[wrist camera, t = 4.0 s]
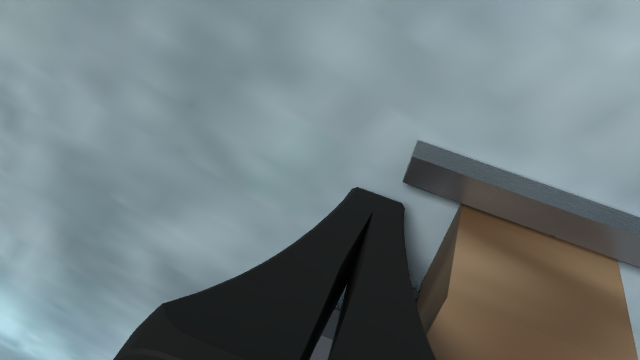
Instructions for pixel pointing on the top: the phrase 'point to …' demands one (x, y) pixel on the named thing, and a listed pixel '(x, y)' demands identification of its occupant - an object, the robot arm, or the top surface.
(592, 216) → the key guide
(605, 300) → the key block
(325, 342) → the socket channel
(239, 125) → the top surface
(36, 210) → the top surface
